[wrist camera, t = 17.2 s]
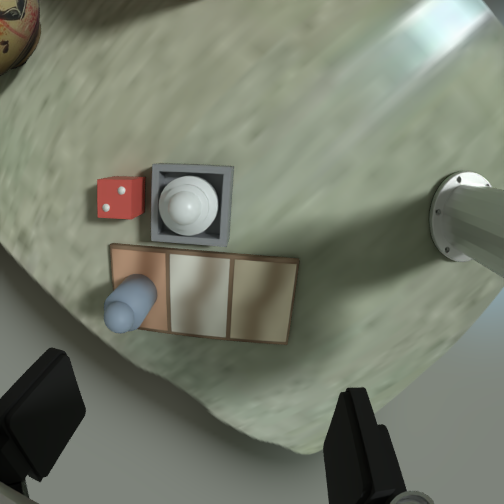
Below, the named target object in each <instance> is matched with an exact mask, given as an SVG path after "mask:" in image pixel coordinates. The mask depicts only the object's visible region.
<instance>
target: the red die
mask: <svg viewBox="0 0 504 504" xmlns="http://www.w3.org/2000/svg"><path fill="white" fill-rule="evenodd" d="M97 203H98V218H116V219H133V218H135V217H137V216H139V215H141V214H143V213H144V212H145V177H127V176H113V177H108V178H102V179H97Z"/></svg>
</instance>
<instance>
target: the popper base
mask: <svg viewBox="0 0 504 504" xmlns="http://www.w3.org/2000/svg"><path fill="white" fill-rule="evenodd" d="M233 172H234V166H220V165H200V164H173V163H158V164H153V166H152V195H151V241H159V242H172V243H184V244H197V245H209V246H222V247H227V244H228V241H229V232H230V217H231V201H232V187H233ZM184 176H198V177H201V178H203V179H205V180H207V181H208V182H209V183H210V184H211V185H212V186H213V187H214V189H215V191H216V193H217V195H218V200H219V208H218V213H217V215H216V217H215V219H214V221H213V222H212V223H211V225H210V226H209V227H208V228H207V229H206V230H204V231H203V232H201V233H199V234H196V235H181V234H178V233H175V232H174V231H172V230H171V229H169V228H168V227H167V226H166V224H165V223H164V222H163V220H162V218H161V215H160V212H159V199H160V196H161V193H162V191H163V189H164V188H165V187H166V186H167V185H168V184H169V183H170V182H171V181H173V180H175V179H177V178H180V177H184Z"/></svg>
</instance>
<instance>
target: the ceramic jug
mask: <svg viewBox="0 0 504 504" xmlns="http://www.w3.org/2000/svg"><path fill="white" fill-rule="evenodd" d="M39 18H40V7H39V1H38V0H0V76H1V75H3V74H4V73H6V72H7V71H8V70H10V69H14V68H17V67H20V66H22V65H23V64H25V63H26V61H27V59H28V58H29V56H30V55H31V54H32V53H33V51H34V50H35V49H36V47H37V44H38V42H39V39H40V35H41V24H40V22H39Z"/></svg>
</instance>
